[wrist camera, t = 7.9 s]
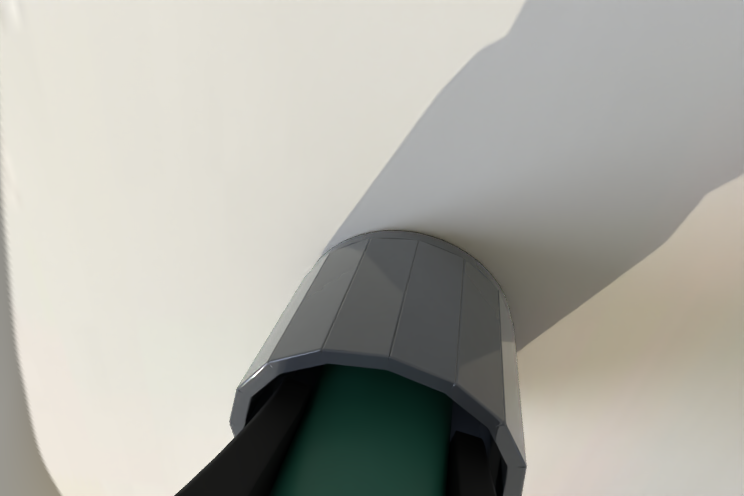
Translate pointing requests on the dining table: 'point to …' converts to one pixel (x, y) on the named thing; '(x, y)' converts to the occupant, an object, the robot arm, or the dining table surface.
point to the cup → (404, 337)
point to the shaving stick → (368, 438)
